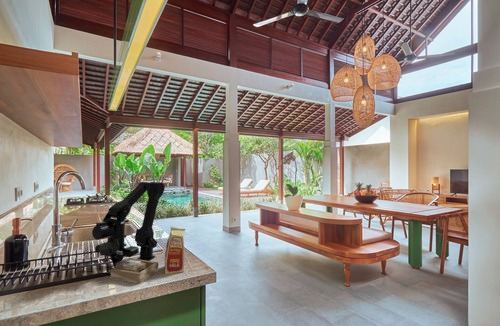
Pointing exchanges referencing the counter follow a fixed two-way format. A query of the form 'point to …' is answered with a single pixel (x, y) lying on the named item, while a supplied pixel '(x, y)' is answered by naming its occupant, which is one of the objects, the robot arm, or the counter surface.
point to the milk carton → (175, 251)
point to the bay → (135, 276)
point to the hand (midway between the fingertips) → (116, 268)
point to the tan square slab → (130, 265)
